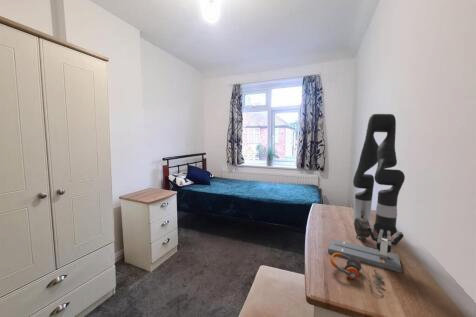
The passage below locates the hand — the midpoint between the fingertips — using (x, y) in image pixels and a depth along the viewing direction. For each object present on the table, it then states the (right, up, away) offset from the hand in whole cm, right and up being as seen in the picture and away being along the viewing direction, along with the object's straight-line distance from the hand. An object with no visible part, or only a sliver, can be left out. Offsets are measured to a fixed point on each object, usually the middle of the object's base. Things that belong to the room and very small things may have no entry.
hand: (383, 251), depth 93 cm
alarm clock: (+3, -3, +22) cm, 22 cm away
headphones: (-18, -6, -10) cm, 21 cm away
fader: (0, -2, 0) cm, 2 cm away
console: (-7, -4, +5) cm, 9 cm away
